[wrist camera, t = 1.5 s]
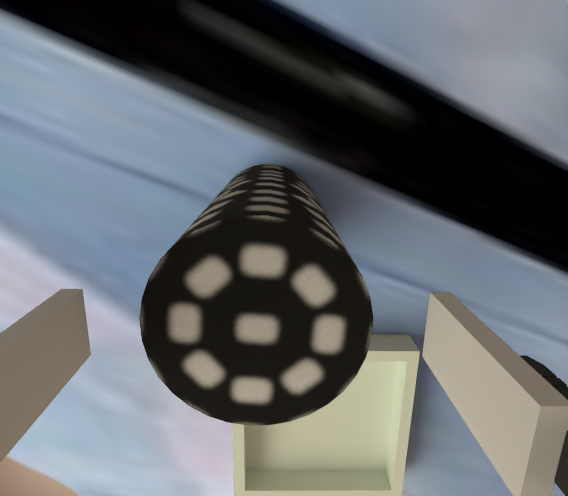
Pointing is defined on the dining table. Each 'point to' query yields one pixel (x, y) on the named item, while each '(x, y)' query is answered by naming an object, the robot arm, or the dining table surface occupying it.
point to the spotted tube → (258, 305)
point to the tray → (338, 435)
